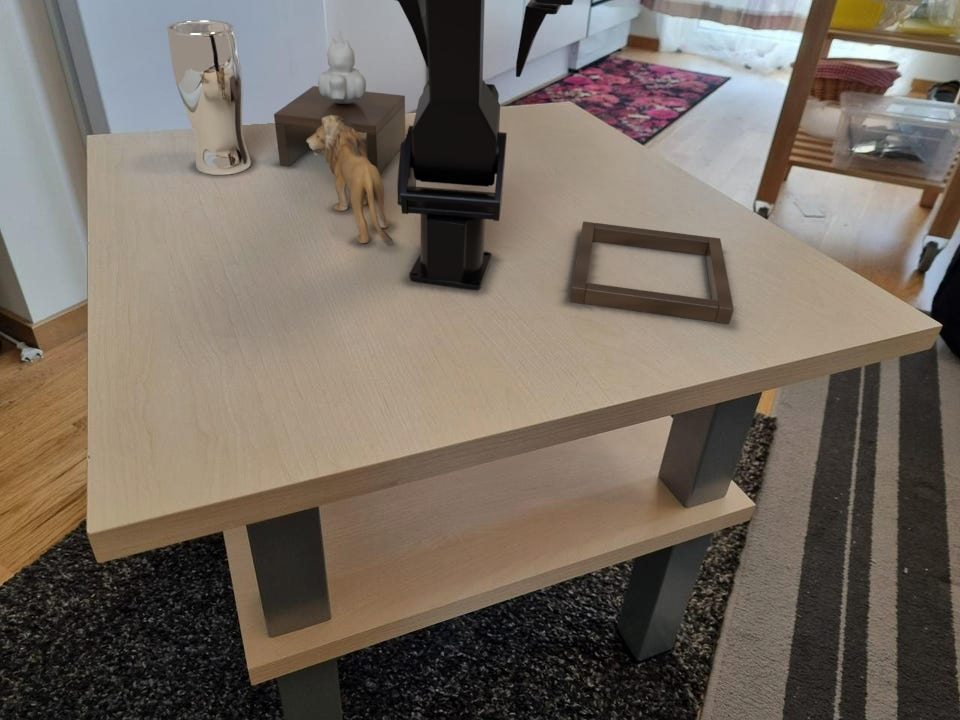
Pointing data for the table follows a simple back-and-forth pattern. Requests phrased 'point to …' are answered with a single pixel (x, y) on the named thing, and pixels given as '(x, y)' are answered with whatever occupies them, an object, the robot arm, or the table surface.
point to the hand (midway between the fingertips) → (473, 71)
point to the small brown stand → (366, 115)
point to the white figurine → (341, 75)
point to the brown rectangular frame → (648, 300)
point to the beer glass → (211, 92)
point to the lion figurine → (351, 173)
